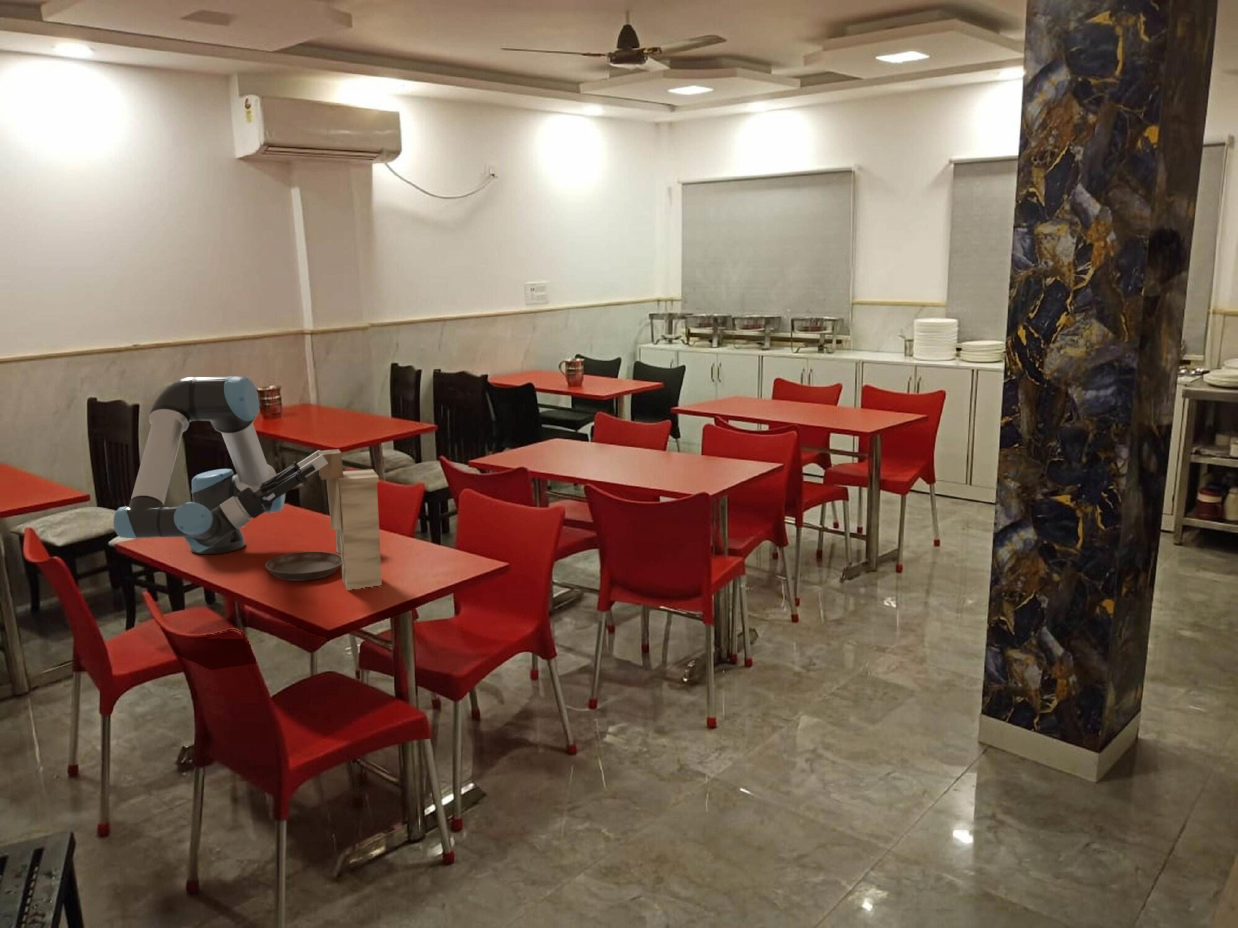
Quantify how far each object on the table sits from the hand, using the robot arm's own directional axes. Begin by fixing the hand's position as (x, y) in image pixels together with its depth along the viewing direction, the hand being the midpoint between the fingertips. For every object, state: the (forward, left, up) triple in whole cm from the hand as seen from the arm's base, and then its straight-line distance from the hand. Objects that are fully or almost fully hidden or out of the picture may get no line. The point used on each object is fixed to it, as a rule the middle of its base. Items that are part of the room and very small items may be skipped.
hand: (323, 456), depth 254 cm
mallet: (0, +5, -9) cm, 10 cm away
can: (-32, +10, -36) cm, 49 cm away
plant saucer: (-16, -5, -36) cm, 40 cm away
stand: (0, +8, -35) cm, 36 cm away
